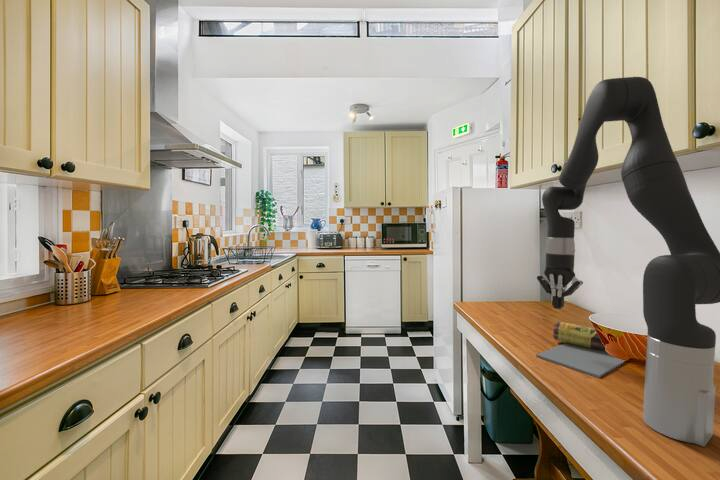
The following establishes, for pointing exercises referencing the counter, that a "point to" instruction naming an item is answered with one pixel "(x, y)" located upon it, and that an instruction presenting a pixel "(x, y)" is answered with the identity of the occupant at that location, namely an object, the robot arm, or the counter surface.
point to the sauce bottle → (577, 335)
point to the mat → (582, 359)
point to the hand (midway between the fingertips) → (557, 308)
